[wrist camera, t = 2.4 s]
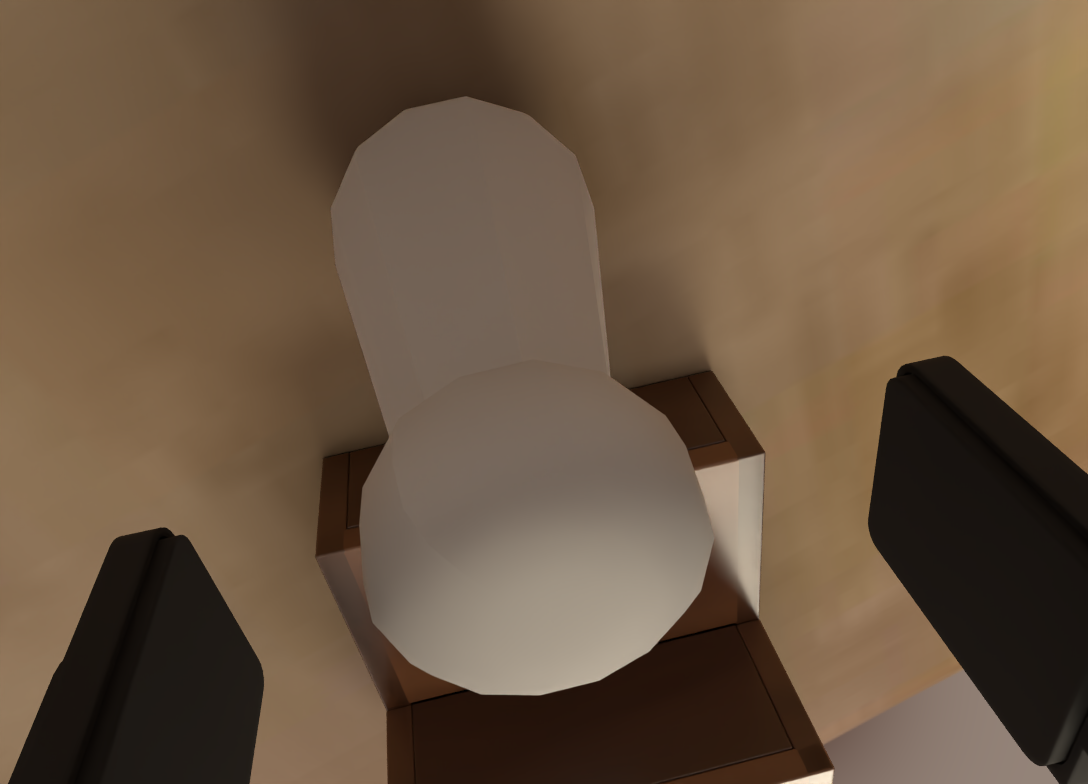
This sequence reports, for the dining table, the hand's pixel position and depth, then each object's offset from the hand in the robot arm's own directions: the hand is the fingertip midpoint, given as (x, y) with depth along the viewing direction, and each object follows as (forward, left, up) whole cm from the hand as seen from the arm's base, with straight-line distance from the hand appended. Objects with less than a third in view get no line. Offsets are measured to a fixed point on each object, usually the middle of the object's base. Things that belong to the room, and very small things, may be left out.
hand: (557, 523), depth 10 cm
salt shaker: (0, 0, -11) cm, 11 cm away
